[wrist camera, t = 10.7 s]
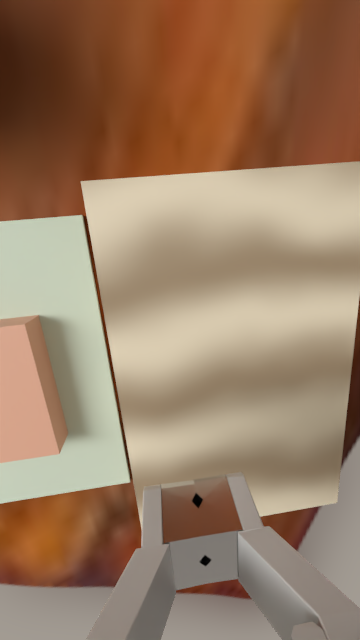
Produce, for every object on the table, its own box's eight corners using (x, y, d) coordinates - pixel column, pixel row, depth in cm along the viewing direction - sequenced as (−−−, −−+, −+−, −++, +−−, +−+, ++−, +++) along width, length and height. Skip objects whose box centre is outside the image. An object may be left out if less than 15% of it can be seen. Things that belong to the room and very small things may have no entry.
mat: (-176, 236, 15) (-183, 236, 14) (83, 215, 16) (81, 215, 16) (-54, 508, 21) (-57, 512, 20) (130, 479, 22) (129, 482, 21)
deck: (97, 195, 16) (80, 181, 12) (323, 178, 17) (374, 160, 13) (144, 486, 22) (143, 537, 18) (306, 459, 23) (337, 502, 19)
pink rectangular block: (24, 324, 15) (38, 315, 17) (-90, 337, 15) (-63, 326, 16) (59, 454, 18) (68, 433, 20) (-37, 468, 17) (-19, 445, 19)
